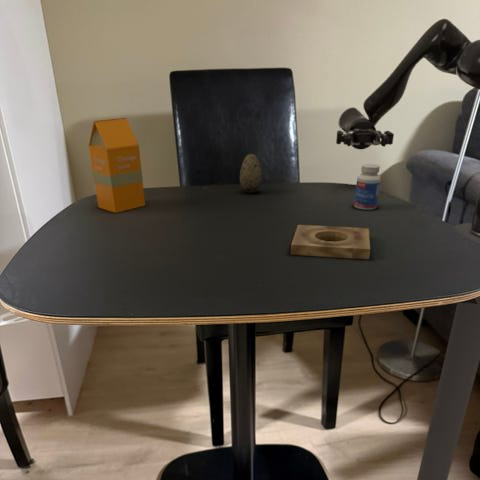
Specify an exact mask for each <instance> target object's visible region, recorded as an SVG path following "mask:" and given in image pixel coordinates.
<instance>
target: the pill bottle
mask: <svg viewBox="0 0 480 480" xmlns="http://www.w3.org/2000/svg"><path fill="white" fill-rule="evenodd" d="M360 171H361V173H360V174H359V175H357V178H356V186H355V194H354V201H353V206H354V207H355V209H358V210H363V211H371V210H375V209H376V208H377V207H378V203H379V195H380V189H381V181H382V178H381V176H380V175H379V173H380V165H378V164H374V163H364V164H362V165H361V170H360Z"/></svg>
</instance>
